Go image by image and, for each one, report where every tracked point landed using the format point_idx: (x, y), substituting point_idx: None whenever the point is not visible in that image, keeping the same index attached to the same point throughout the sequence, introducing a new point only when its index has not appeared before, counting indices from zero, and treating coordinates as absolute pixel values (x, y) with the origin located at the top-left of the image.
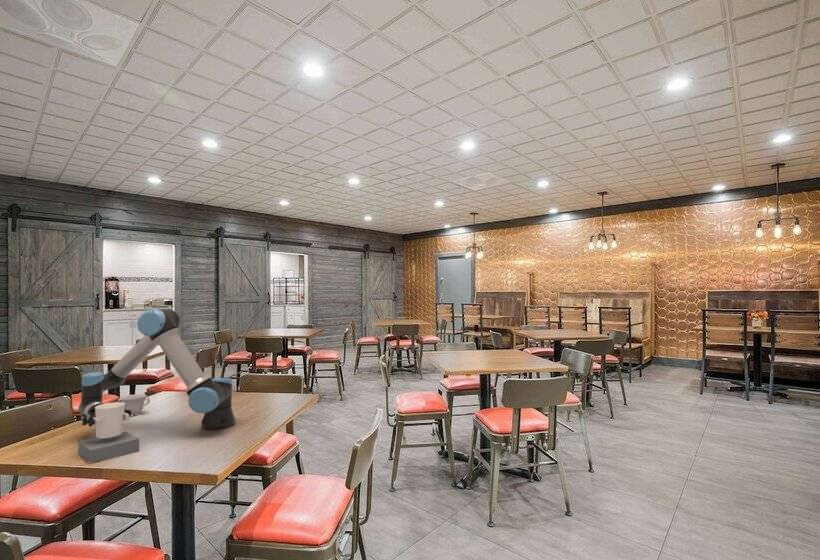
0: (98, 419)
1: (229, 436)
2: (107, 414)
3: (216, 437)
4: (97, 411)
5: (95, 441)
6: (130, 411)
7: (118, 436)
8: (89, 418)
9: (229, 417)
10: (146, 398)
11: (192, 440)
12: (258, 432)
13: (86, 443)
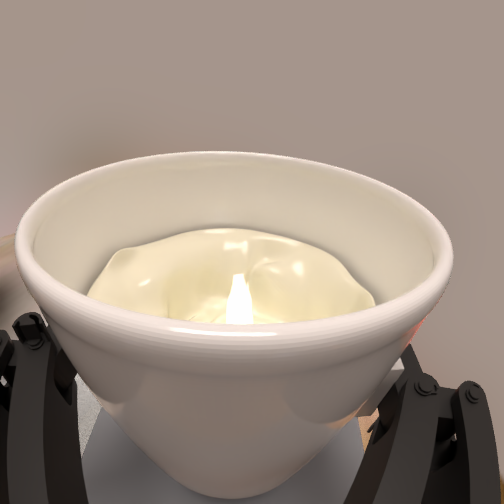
0: None
1: (15, 263)
2: (292, 221)
3: (16, 278)
4: (382, 225)
5: (296, 482)
6: (4, 334)
7: (153, 463)
8: (433, 378)
9: None
10: None
11: (32, 306)
12: (2, 244)
13: (347, 479)
